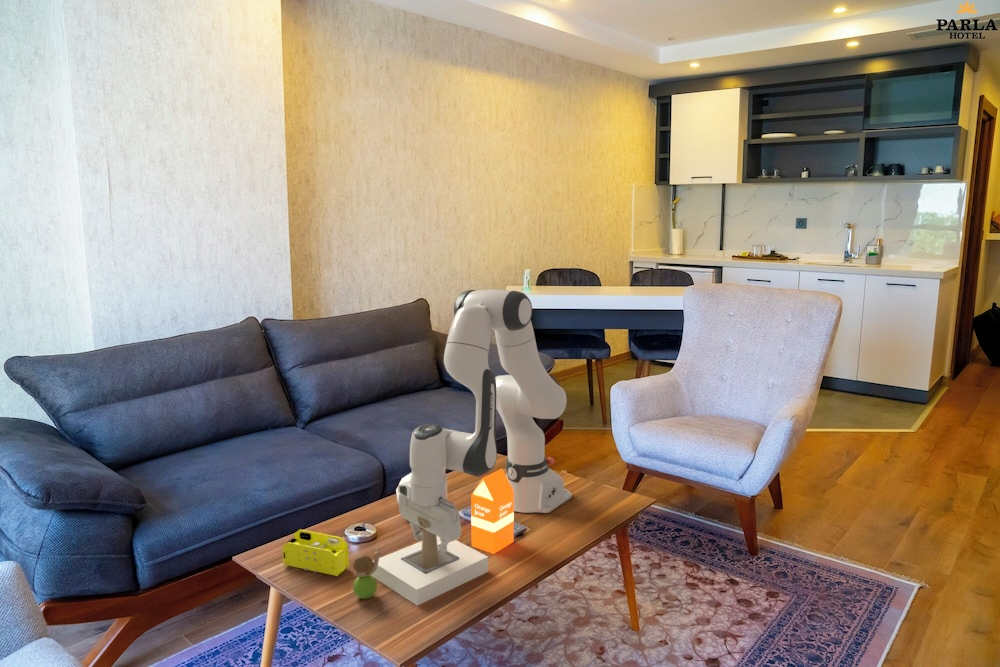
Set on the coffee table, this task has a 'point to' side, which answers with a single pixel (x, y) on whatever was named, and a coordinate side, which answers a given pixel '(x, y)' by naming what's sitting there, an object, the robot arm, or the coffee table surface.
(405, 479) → the geodesic sphere
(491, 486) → the orange juice
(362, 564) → the snail figurine
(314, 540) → the yellow toy chassis
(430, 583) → the socket board
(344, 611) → the coffee table surface
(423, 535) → the handle
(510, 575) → the coffee table surface
